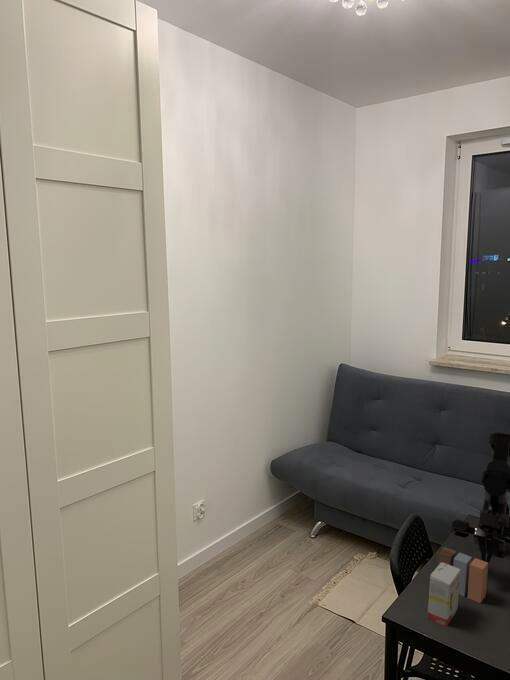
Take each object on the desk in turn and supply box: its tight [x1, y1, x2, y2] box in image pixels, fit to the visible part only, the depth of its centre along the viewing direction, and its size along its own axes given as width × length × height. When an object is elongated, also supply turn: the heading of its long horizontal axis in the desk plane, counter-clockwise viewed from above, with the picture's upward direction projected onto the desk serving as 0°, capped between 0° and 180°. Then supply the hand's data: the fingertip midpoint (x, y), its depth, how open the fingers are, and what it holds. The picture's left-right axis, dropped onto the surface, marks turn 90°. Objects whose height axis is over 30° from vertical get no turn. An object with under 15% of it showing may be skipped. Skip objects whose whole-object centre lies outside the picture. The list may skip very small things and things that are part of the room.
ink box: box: [427, 563, 461, 627], centre depth 124 cm, size 9×5×12 cm, turn 142°
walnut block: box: [437, 546, 457, 566], centre depth 135 cm, size 4×3×9 cm
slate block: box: [453, 552, 473, 597], centre depth 133 cm, size 4×3×9 cm
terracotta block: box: [466, 557, 489, 604], centre depth 130 cm, size 4×3×9 cm
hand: (484, 568), depth 133 cm, fingers closed
